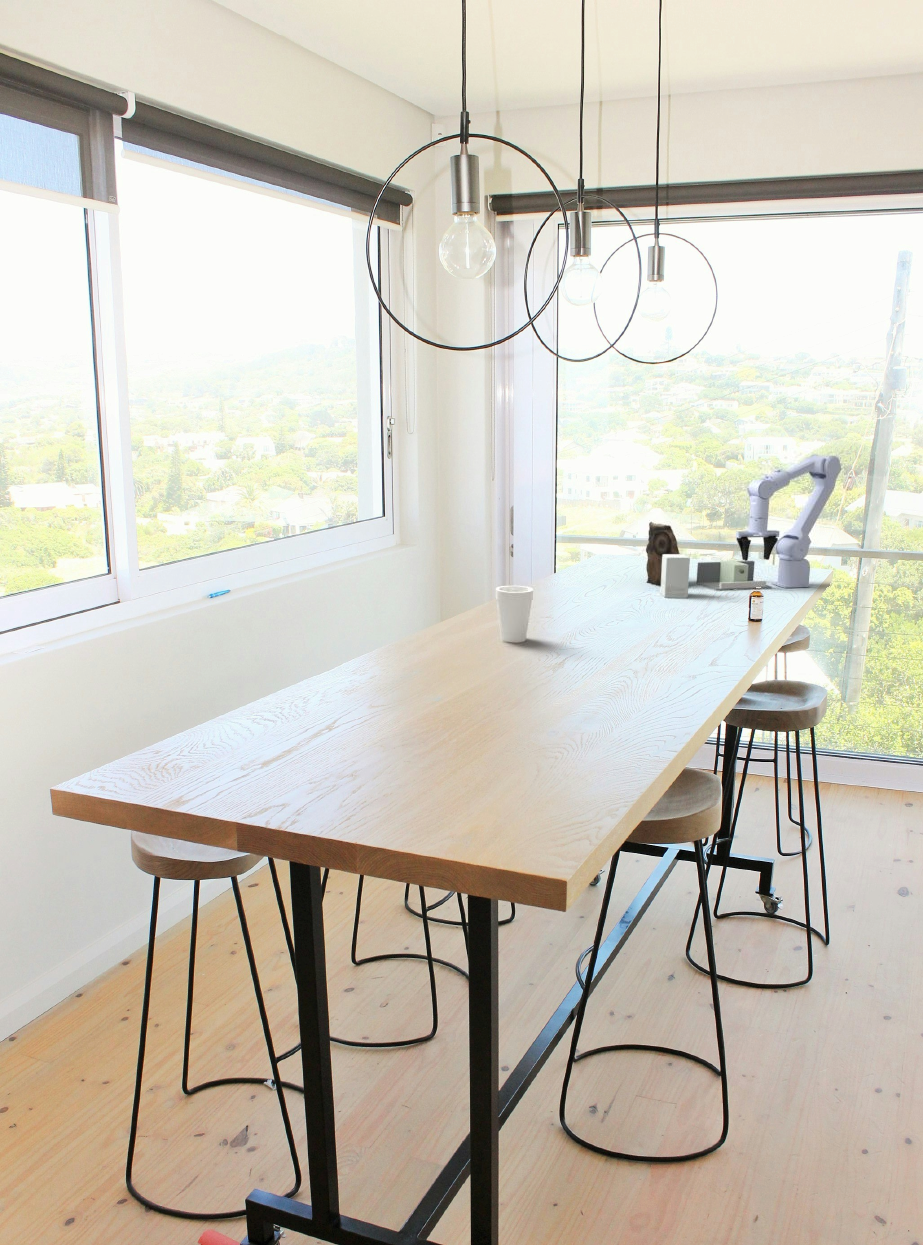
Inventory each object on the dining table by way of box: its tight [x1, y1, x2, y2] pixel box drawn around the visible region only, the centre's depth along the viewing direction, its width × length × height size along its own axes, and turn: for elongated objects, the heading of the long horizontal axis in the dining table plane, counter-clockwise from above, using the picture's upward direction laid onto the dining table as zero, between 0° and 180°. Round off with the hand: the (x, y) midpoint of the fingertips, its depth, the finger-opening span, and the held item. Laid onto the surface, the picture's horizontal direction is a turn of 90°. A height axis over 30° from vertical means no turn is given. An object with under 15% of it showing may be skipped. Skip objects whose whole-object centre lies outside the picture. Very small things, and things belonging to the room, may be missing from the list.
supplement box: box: [659, 553, 691, 599], centre depth 315 cm, size 7×7×13 cm
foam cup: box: [495, 585, 534, 643], centre depth 257 cm, size 10×9×13 cm
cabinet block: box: [720, 560, 748, 582], centre depth 334 cm, size 5×10×7 cm, turn 14°
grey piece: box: [696, 560, 772, 591], centre depth 334 cm, size 20×13×7 cm, turn 104°
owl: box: [645, 521, 680, 587], centre depth 335 cm, size 13×13×20 cm
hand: (755, 559), depth 328 cm, fingers open, 7 cm apart
